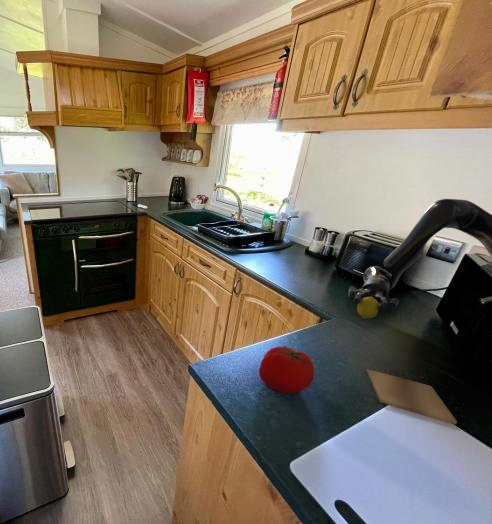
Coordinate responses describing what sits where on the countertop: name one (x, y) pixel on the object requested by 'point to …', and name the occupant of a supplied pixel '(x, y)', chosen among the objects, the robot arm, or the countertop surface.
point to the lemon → (368, 307)
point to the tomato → (286, 370)
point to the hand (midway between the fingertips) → (368, 304)
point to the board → (409, 396)
